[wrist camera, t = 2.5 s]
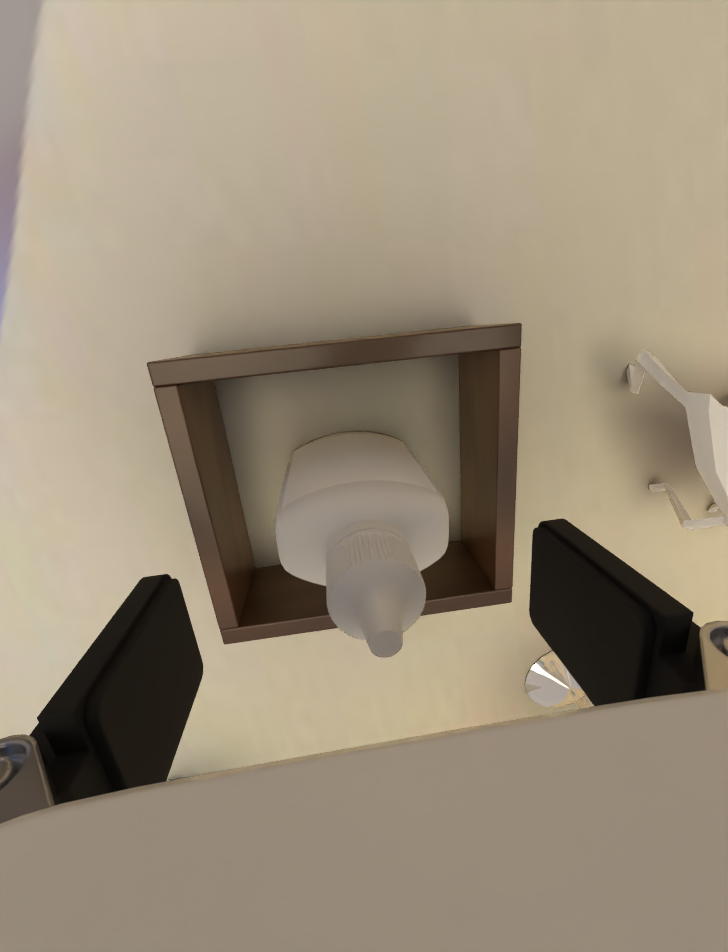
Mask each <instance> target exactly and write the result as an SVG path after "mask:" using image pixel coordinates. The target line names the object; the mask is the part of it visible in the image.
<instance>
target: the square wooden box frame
mask: <svg viewBox="0 0 728 952" xmlns="http://www.w3.org/2000/svg"><path fill="white" fill-rule="evenodd" d="M521 330H522V324H521V323H511V324H491V325H473V326H464V327H454V328H445V329H435V330H426V331H416V332H406V333H397V334H387V335H378V336H368V337H359V338H349V339H340V340H330V341H320V342H311V343H301V344H292V345H282V346H273V347H263V348H254V349H244V350H235V351H225V352H215V353H206V354H196V355H188V356H182V357H176V358H170V359H164V360H158V361H152V362H148V363H147V366H148V370H149V373H150V377H151V381H152V384H153V386H154V392H155V395H156V399H157V403H158V406H159V410H160V414H161V417H162V421H163V425H164V428H165V432H166V436H167V439H168V443H169V447H170V450H171V454H172V457H173V461H174V465H175V468H176V472H177V476H178V479H179V483H180V487H181V490H182V494H183V498H184V501H185V505H186V509H187V512H188V516H189V519H190V523H191V527H192V530H193V534H194V538H195V541H196V545H197V549H198V552H199V556H200V560H201V563H202V567H203V571H204V574H205V578H206V581H207V585H208V589H209V592H210V596H211V600H212V603H213V607H214V611H215V614H216V618H217V622H218V625H219V629H220V632H221V635H222V639H223V643H224V644H231V643H238V642H245V641H251V640H258V639H265V638H272V637H279V636H286V635H292V634H299V633H306V632H313V631H320V630H327V629H333V628H338V627H337V625H336V624H334V621H333V620H331V617H330V616H329V612H328V608H327V597H326V586H324V585H320V584H316V583H312V582H309V581H306V580H303V579H300V578H298V577H295V576H293V575H292V574H290V573H289V572H287V571H286V570H285V569H284V567H283V566H282V565H281V566H274V567H266V568H259V569H255V565H254V560H253V556H252V551H251V547H250V542H249V538H248V533H247V529H246V524H245V520H244V515H243V511H242V506H241V502H240V497H239V493H238V488H237V484H236V479H235V475H234V470H233V466H232V461H231V457H230V452H229V448H228V443H227V439H226V434H225V430H224V425H223V421H222V416H221V412H220V407H219V403H218V398H217V394H216V389H215V385H214V380H224V379H233V378H242V377H251V376H260V375H270V374H279V373H288V372H297V371H306V370H316V369H325V368H334V367H343V366H352V365H362V364H371V363H380V362H389V361H398V360H408V359H417V358H426V357H435V356H444V355H454V354H459V393H460V459H461V526H462V541H457V542H450V543H448V546H447V549H446V552H445V553H444V555H443V556H442V557H441V558H440V559H439V560H437V561H436V562H434V563H433V564H432V565H430V566H429V567H427V568H425V569H423V570H422V571H420V573H421V576H422V578H423V581H424V583H425V587H426V590H425V591H426V599H425V601H426V603H425V604H424V605H425V607H424V608H423V611H422V613H421V615H420V616H422V615H429V614H436V613H443V612H450V611H456V610H463V609H470V608H477V607H484V606H491V605H497V604H504V603H510V602H511V601H512V585H513V557H514V529H515V501H516V473H517V445H518V417H519V390H520V362H521V348H520V346H521Z"/></svg>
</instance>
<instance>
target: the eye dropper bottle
mask: <svg viewBox="0 0 728 952" xmlns="http://www.w3.org/2000/svg"><path fill="white" fill-rule="evenodd" d="M275 536H276V543H277V549H278V554H279V559H280V562H281V564H282V566H283V567H284V569H285V570H286V571H287V572H289V573H290V574H292V575H293V576H295V577H298V578H300V579H303V580H306V581H309V582H312V583H316V584H320V585H324V586H326V597H327V608H328V612H329V616H330V617H331V620H333V621H334V624H336V625H337V627H338V628H340V630H342V631H344V633H346V634H348V635H349V636H352V637H354V638H357V639H361V640H366V641H367V643H368V646H369V648H370V650H371V652H372V653H373V654H374V655H376V656H378V657H391V656H393V655H395V654H396V653H398V652H399V651H400V649H401V647H402V644H403V632H404V631H406V630H407V629H409V628H410V627H411V626H412V625H413V624H414V623H415V622H416V620H417V619H418V617H419V616H420V615H421V613H422V611H423V608H424V607H425V605H424V604H425V603H426V601H425V599H426V591H425V590H426V587H425V583H424V581H423V578H422V576H421V573H420V571H422V570H423V569H425V568H427V567H429V566H430V565H432V564H433V563H434V562H436V561H437V560H439V559H440V558H441V557H442V556H443V555H444V553H445V552H446V549H447V546H448V540H449V515H448V508H447V505H446V502H445V500H444V497H443V496H442V494H441V492H440V491H439V489H438V488H437V486H436V485H435V483H434V482H433V481H432V479H431V478H430V477H429V475H428V474H427V472H426V471H425V470H424V468H423V467H422V466H421V464H420V463H419V461H418V460H417V459H416V457H415V456H414V455H413V453H412V452H411V451H410V449H409V448H408V447H407V445H406V444H404V443H403V442H402V441H401V440H398V439H396V438H393V437H390V436H386V435H382V434H377V433H370V432H344V433H337V434H332V435H328V436H325V437H322V438H319V439H316V440H313V441H311V442H309V443H307V444H305V445H303V446H301V447H299V448H298V449H296V450H295V451H294V452H293V453H292V455H291V456H290V460H289V463H288V467H287V471H286V475H285V479H284V483H283V487H282V491H281V495H280V499H279V503H278V508H277V513H276V518H275Z"/></svg>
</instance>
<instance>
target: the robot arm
mask: <svg viewBox="0 0 728 952" xmlns="http://www.w3.org/2000/svg"><path fill="white" fill-rule="evenodd" d="M529 612H530V618H531V621H532V623H533V625H534V626H535V628H536V629H537V630H538V632H539V633H540V634H541V636H542V637H543V638H544V640H545V641H546V642H547V643H548V645H549V646H550V647H551V649H552V650H553V651H554V653H555V654H556V655H557V657H558V658H559V659H560V661H561V662H562V663H563V665H564V666H565V667H566V669H567V670H568V671H569V673H570V674H571V675H572V677H573V678H574V679H575V681H576V682H577V683H578V685H579V686H580V687H581V689H582V690H583V691H584V693H585V694H586V695H587V697H588V698H589V699H590V701H591V702H592V703H593V704H594V706H593V707H587V708H581V709H575V710H569V711H563V712H557V713H552V714H546V715H540V716H534V717H528V718H522V719H516V720H510V721H504V722H498V723H492V724H486V725H480V726H474V727H468V728H463V729H457V730H451V731H445V732H439V733H434V734H428V735H422V736H416V737H410V738H405V739H399V740H393V741H388V742H382V743H376V744H370V745H365V746H359V747H353V748H348V749H342V750H336V751H330V752H325V753H319V754H314V755H308V756H303V757H297V758H292V759H286V760H280V761H275V762H269V763H264V764H258V765H253V766H247V767H242V768H236V769H231V770H225V771H219V772H214V773H208V774H203V775H197V776H192V777H187V778H182V779H176V780H171V781H166V780H167V777H168V774H169V771H170V768H171V765H172V762H173V760H174V757H175V754H176V751H177V748H178V745H179V742H180V739H181V737H182V734H183V731H184V728H185V725H186V722H187V719H188V717H189V714H190V711H191V708H192V705H193V702H194V699H195V696H196V694H197V691H198V688H199V685H200V682H201V679H202V676H203V663H202V659H201V655H200V652H199V648H198V645H197V642H196V638H195V635H194V631H193V628H192V624H191V621H190V618H189V614H188V611H187V607H186V604H185V601H184V597H183V594H182V590H181V587H180V584H179V581H178V580H177V579H172V578H171V577H170V576H169V575H168V574H164V575H157V576H150V577H144V578H142V579H141V580H140V581H139V582H138V584H137V585H136V586H135V588H134V589H133V590H132V592H131V593H130V594H129V596H128V597H127V598H126V600H125V601H124V602H123V604H122V605H121V606H120V608H119V609H118V610H117V612H116V613H115V614H114V616H113V617H112V618H111V620H110V621H109V622H108V624H107V625H106V626H105V628H104V629H103V630H102V632H101V633H100V634H99V636H98V637H97V638H96V640H95V641H94V642H93V644H92V645H91V646H90V648H89V649H88V650H87V652H86V653H85V654H84V656H83V657H82V658H81V660H80V661H79V662H78V664H77V665H76V666H75V668H74V669H73V670H72V672H71V673H70V674H69V676H68V677H67V678H66V680H65V681H64V682H63V684H62V685H61V686H60V688H59V689H58V690H57V692H56V693H55V694H54V696H53V697H52V698H51V700H50V701H49V702H48V704H47V705H46V706H45V708H44V709H43V710H42V712H41V713H40V714H39V716H38V717H37V719H38V721H39V723H38V725H37V726H36V727H35V729H34V730H33V731H32V733H31V734H30V736H28V735H13V736H9V737H6V738H3V739H0V952H728V621H714V622H710V623H706V624H705V625H704V626H702V627H701V628H700V627H699V626H698V625H696V624H695V623H694V622H692V618H693V612H692V611H691V610H689V609H688V608H687V607H685V606H684V605H682V604H681V603H680V602H678V601H677V600H676V599H674V598H673V597H671V596H670V595H669V594H667V593H666V592H665V591H663V590H662V589H660V588H659V587H658V586H656V585H655V584H654V583H652V582H651V581H649V580H648V579H647V578H645V577H644V576H643V575H641V574H640V573H638V572H637V571H636V570H634V569H633V568H631V567H630V566H629V565H627V564H626V563H625V562H623V561H622V560H620V559H619V558H618V557H616V556H615V555H614V554H612V553H611V552H609V551H608V550H607V549H605V548H604V547H603V546H601V545H600V544H598V543H597V542H596V541H594V540H593V539H592V538H590V537H589V536H587V535H586V534H585V533H583V532H582V531H580V530H579V529H578V528H576V527H575V526H574V525H572V524H571V523H569V522H568V521H567V520H565V519H556V520H549V521H542V522H540V524H539V526H538V528H535V529H534V530H533V540H532V563H531V585H530V608H529Z"/></svg>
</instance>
